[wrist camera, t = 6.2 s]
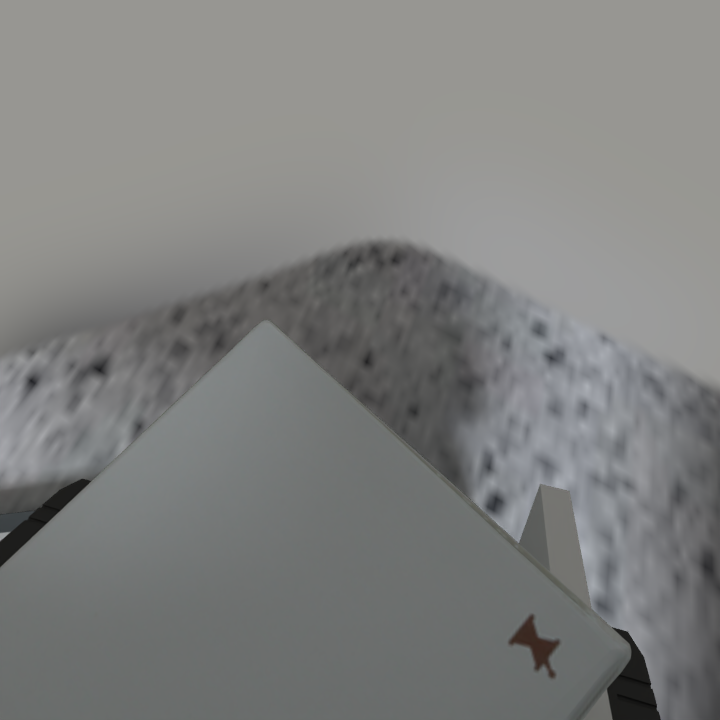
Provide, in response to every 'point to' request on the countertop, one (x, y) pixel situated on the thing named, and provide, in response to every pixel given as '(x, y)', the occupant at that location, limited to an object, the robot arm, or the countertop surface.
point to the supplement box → (287, 575)
